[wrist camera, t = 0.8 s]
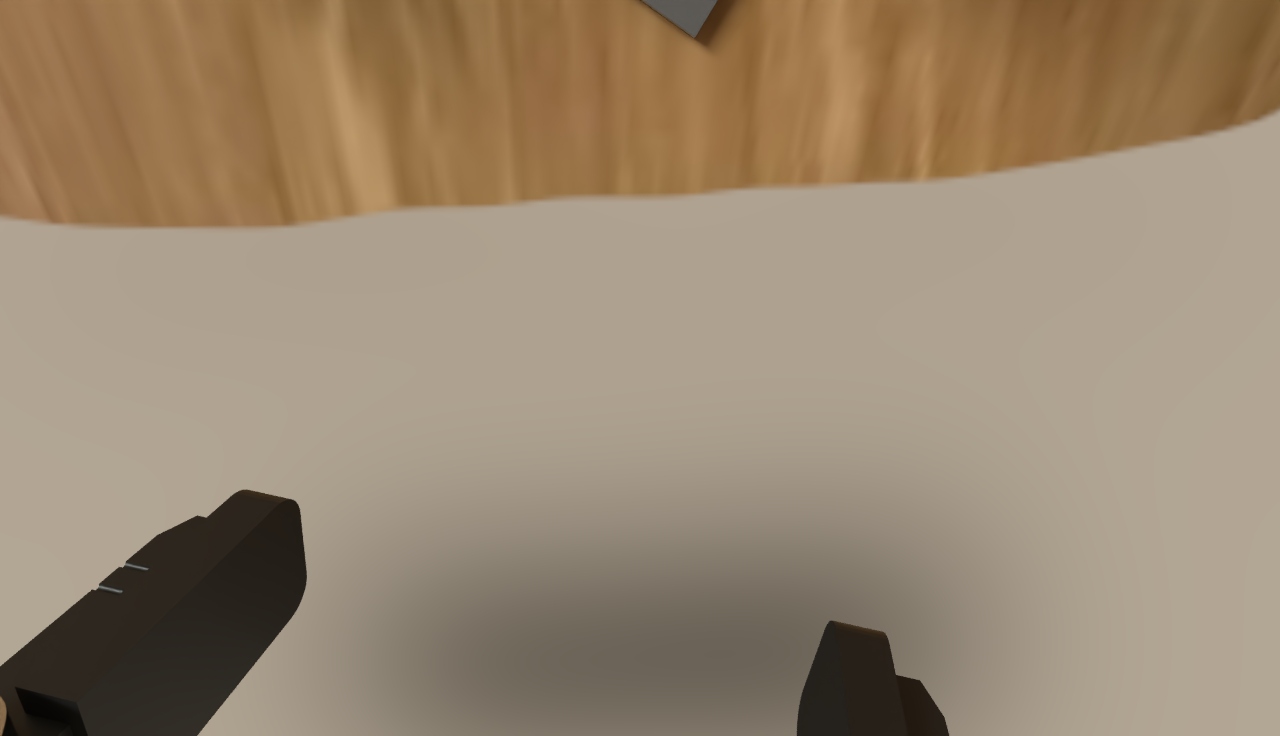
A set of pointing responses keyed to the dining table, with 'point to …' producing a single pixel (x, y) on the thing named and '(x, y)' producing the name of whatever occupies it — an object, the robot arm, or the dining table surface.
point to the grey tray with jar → (684, 12)
